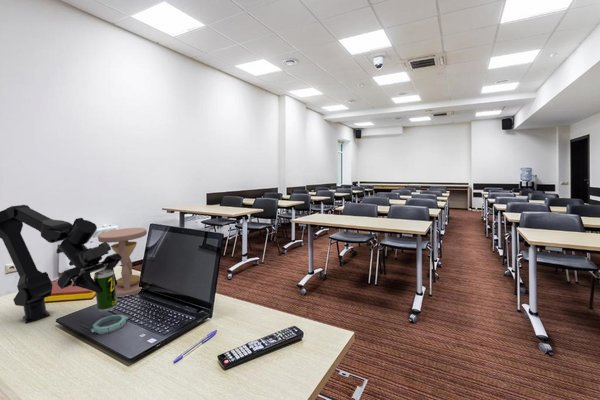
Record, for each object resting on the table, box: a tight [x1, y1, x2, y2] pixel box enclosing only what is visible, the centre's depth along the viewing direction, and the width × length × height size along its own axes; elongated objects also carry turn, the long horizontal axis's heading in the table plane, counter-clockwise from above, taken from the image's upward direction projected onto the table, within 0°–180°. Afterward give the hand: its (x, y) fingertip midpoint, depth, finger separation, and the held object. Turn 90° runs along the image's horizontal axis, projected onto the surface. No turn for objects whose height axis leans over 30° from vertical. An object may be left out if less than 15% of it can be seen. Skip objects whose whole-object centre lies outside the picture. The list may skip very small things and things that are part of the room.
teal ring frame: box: [90, 314, 129, 334], centre depth 97 cm, size 9×10×2 cm
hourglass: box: [97, 227, 148, 297], centre depth 126 cm, size 18×18×25 cm
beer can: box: [93, 269, 118, 312], centre depth 96 cm, size 5×5×12 cm
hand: (108, 288), depth 96 cm, fingers closed on beer can, 5 cm apart
